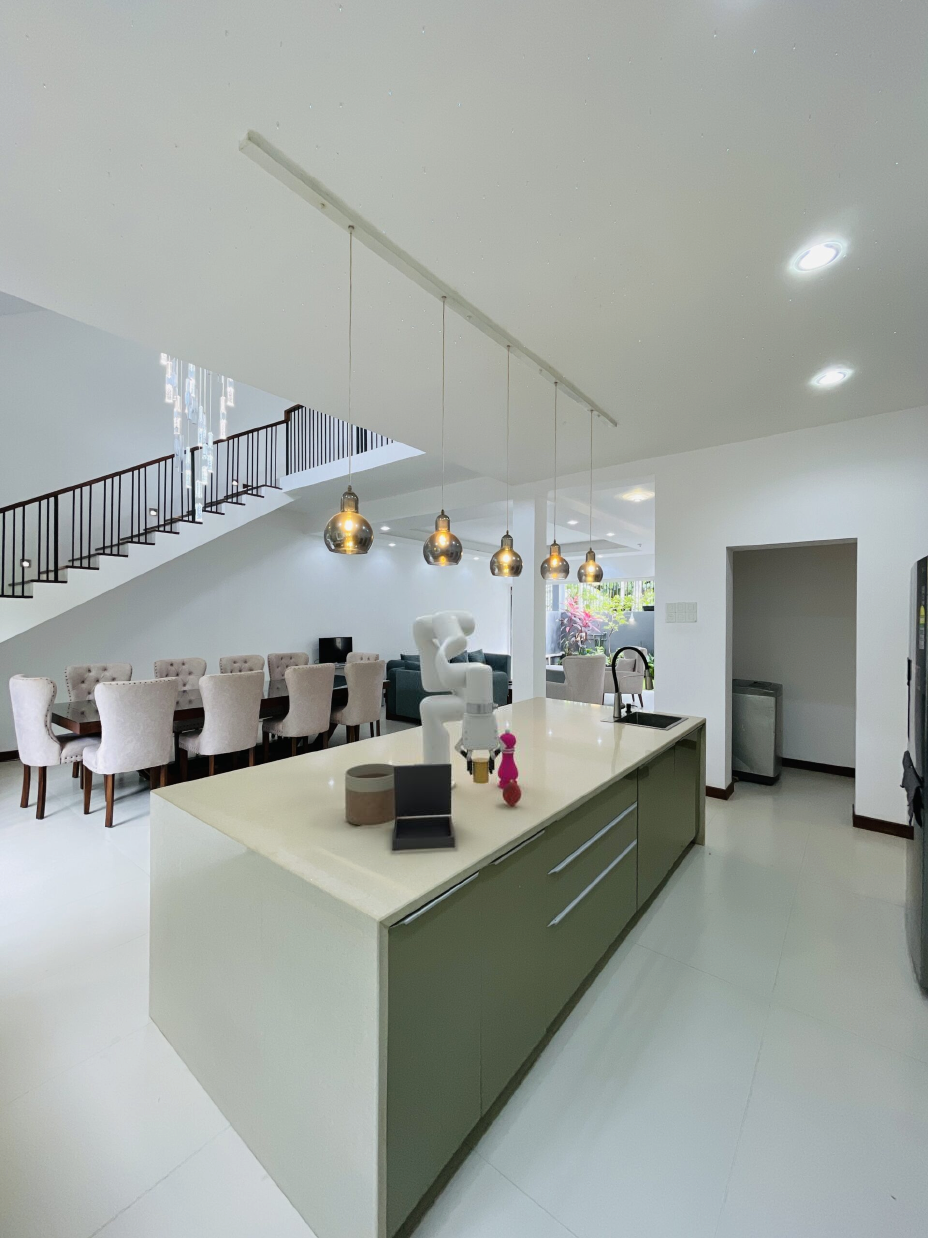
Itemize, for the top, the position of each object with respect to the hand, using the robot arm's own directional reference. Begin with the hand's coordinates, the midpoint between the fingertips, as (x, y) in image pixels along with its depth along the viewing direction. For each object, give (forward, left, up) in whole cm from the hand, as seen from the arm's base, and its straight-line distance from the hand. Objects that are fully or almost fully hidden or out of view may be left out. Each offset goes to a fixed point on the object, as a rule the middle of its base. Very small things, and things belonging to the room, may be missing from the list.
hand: (480, 772), depth 145 cm
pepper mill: (-14, +33, -15) cm, 39 cm away
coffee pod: (0, 0, -2) cm, 2 cm away
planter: (-29, -15, -15) cm, 36 cm away
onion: (-2, +18, -15) cm, 24 cm away
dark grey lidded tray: (-6, -17, -15) cm, 23 cm away
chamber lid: (-10, -13, -4) cm, 17 cm away
